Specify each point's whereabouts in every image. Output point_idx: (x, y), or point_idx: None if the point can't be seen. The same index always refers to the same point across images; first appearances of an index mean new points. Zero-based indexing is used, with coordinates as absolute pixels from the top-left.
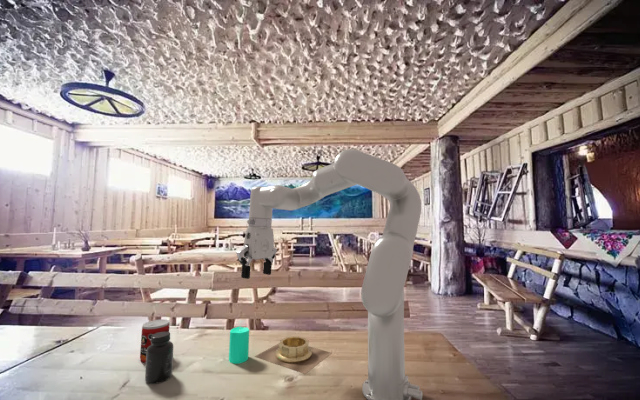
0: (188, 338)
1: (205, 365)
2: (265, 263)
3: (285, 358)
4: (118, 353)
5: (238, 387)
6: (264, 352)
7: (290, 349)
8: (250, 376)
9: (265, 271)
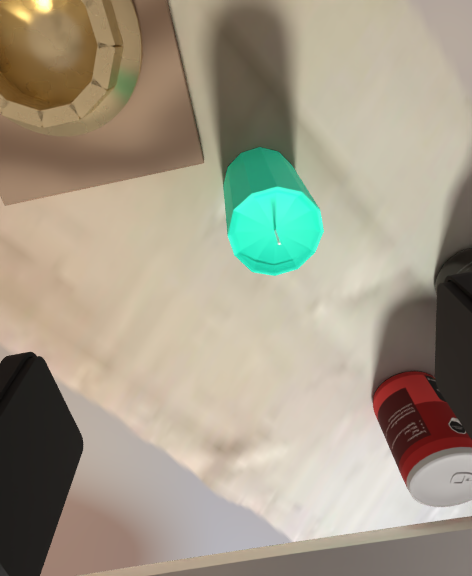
0: (275, 449)
1: (341, 254)
2: (16, 559)
3: (124, 6)
4: None
5: (361, 21)
6: (152, 163)
7: None
8: (283, 60)
9: (58, 436)
